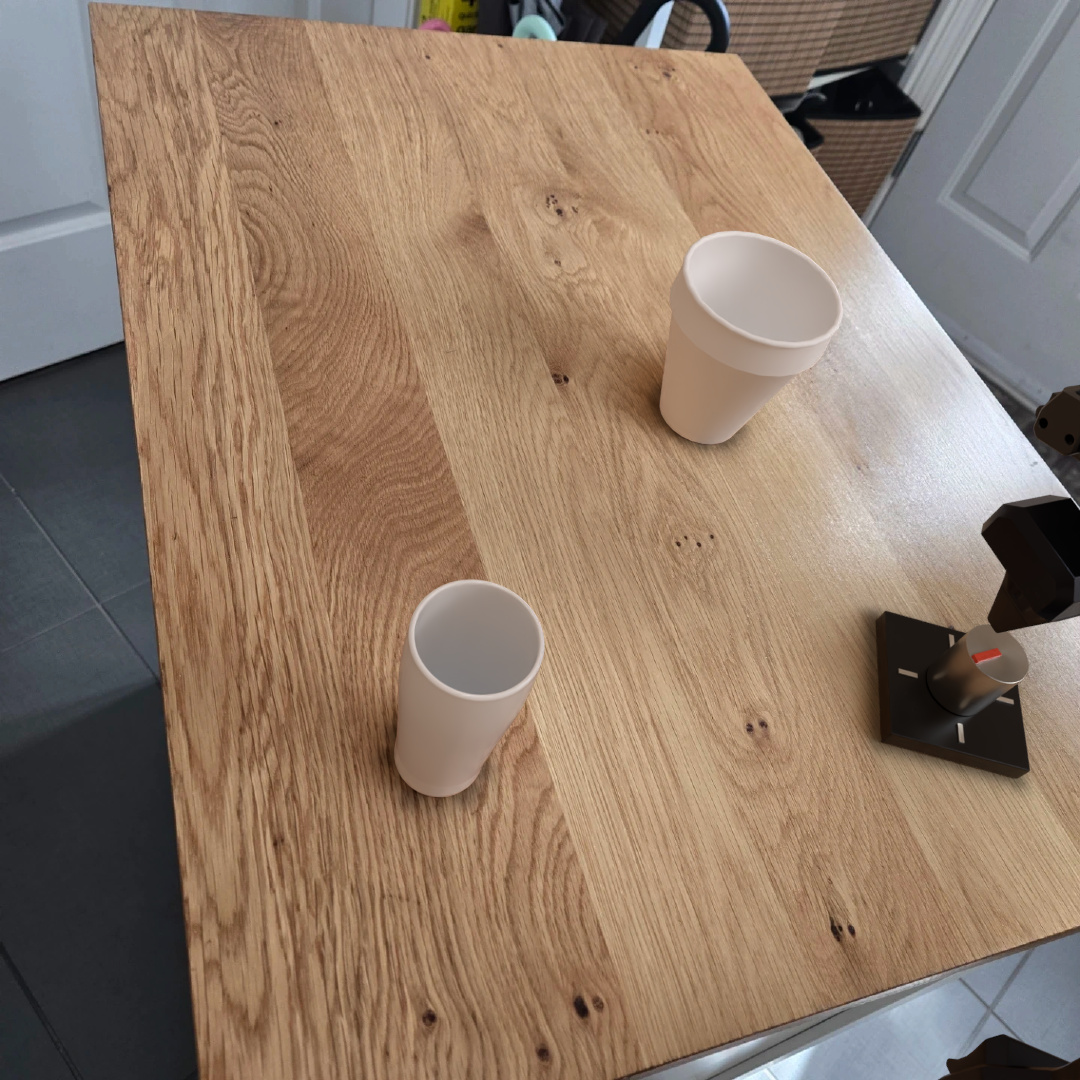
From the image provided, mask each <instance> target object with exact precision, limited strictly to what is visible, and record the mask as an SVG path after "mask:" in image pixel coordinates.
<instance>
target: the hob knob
mask: <svg viewBox="0 0 1080 1080" xmlns="http://www.w3.org/2000/svg"><path fill="white" fill-rule="evenodd" d="M965 633H966V634H965V635H964V636H963V637H962V638H961V639H960V640H958V641H957V642H956V643H955V644H954V645H953V646H951V647H950V648H949V649H948V650H947V651H946V652H945V653H943V654H942V655H941V656H940V657H939V658H938V659H936V660H935V661H934V662H933V663H932V664H931V665H930V666H929V668H928V671H927V684H928V687H929V689H930V691H931V693H932V695H933V696H934V698H935V699H936V700H937V701H938V702H939V703H940V704H941V705H942V706H943V707H944V708H946V709H947V710H949V711H951V712H953V713H955V714H958V715H963V716H971V715H974V714H977V713H978V712H980V711H981V710H983V709H984V708H985V707H987V706H988V705H989V704H991V703H992V702H993V701H995V700H996V699H997V698H999V697H1000V696H1002V695H1003V694H1004V693H1006V692H1007V691H1008V690H1010V689H1011V688H1012V687H1014V686H1015V685H1016V684H1018V685H1019V684H1020V683H1021V682H1022V681H1023V680H1024V679H1025V678H1026V676H1028V675H1027V674H1028V672H1029V666H1030V665H1029V658H1028V655H1027V653H1026V651H1025V648H1024V647H1023V646H1022V644H1021V643H1020V642H1019V641H1018V640H1017V639H1016V637H1015V636H1013V635H1012V634H1011V633H1009V631H1007V632H1002V633H996V632H995V631H994V630H993V628H992V627H991V625H990V624H978V625H975V626H974V627H972V628H971V629H969V631H967V632H965Z"/></svg>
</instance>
